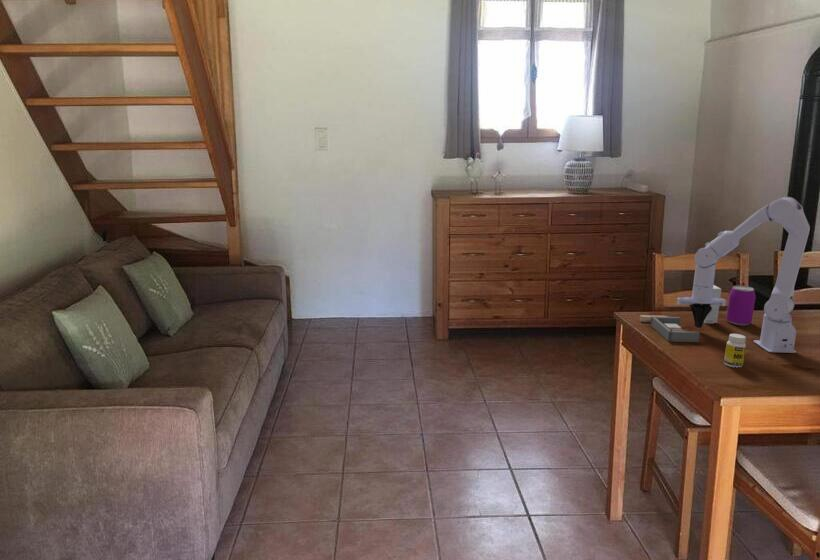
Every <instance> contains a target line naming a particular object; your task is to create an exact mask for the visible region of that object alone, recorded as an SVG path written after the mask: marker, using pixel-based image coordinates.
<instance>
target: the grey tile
mask: <svg viewBox="0 0 820 560" xmlns="http://www.w3.org/2000/svg"><path fill="white" fill-rule="evenodd" d="M664 325H665V326H666V327H667V328H669V329H682V326H681V325H680V326H679V325H677V324H666V323H664Z"/></svg>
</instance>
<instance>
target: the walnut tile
mask: <svg viewBox="0 0 820 560" xmlns="http://www.w3.org/2000/svg"><path fill="white" fill-rule="evenodd" d="M670 330H671V331H686V330H685V329H683V328H681V329H670Z"/></svg>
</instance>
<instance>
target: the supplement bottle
mask: <svg viewBox="0 0 820 560" xmlns="http://www.w3.org/2000/svg"><path fill="white" fill-rule="evenodd" d="M746 339H747V337H746V336H745V335H743V334H739V333H730V334H729V336H728V341H726V346H725V352H724V359H723V364H724V365H725V366H728V367H730V368H735V367H736V368H737V369H738V367H739V368H742V367H743V366H744V362H745V361H744V360H745V353H746V347H747V344H746ZM736 368H735V369H736Z"/></svg>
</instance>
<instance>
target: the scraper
mask: <svg viewBox="0 0 820 560" xmlns="http://www.w3.org/2000/svg"><path fill="white" fill-rule="evenodd" d="M651 317H669V316H668V315H656V314H655V315H654V314H652V315H650V314H639V316H638V321H639V322H640V323H651Z"/></svg>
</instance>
